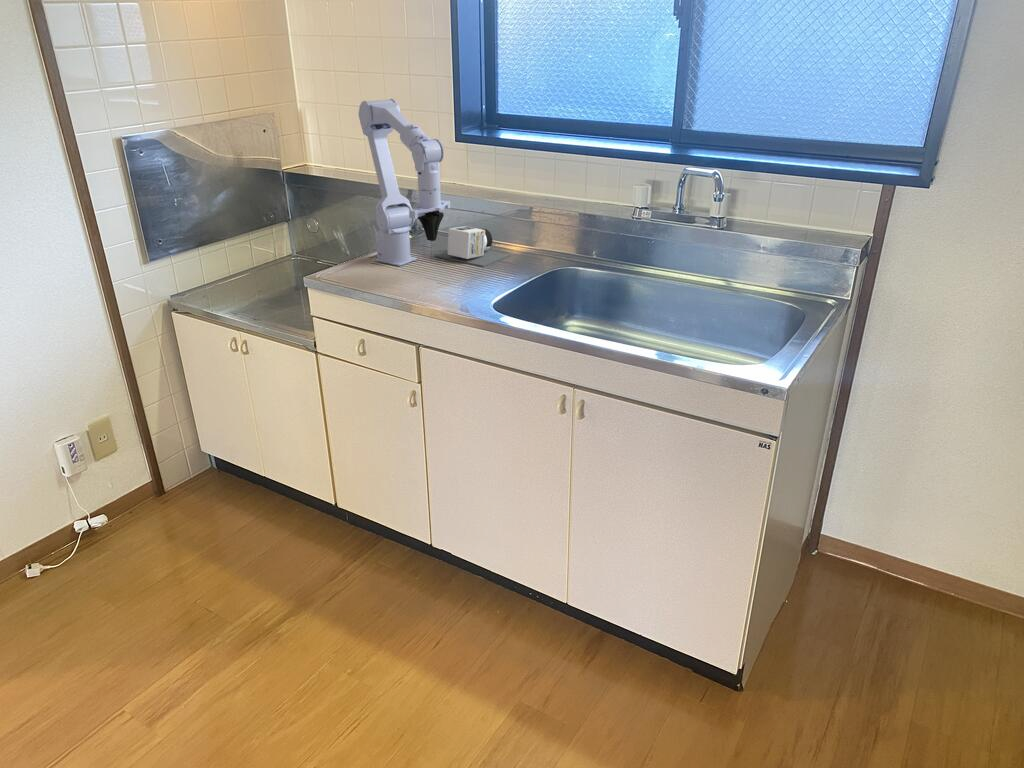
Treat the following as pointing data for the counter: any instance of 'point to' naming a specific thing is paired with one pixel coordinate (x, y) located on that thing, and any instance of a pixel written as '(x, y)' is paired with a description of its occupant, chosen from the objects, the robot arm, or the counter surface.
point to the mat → (481, 261)
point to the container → (468, 242)
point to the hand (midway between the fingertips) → (431, 240)
